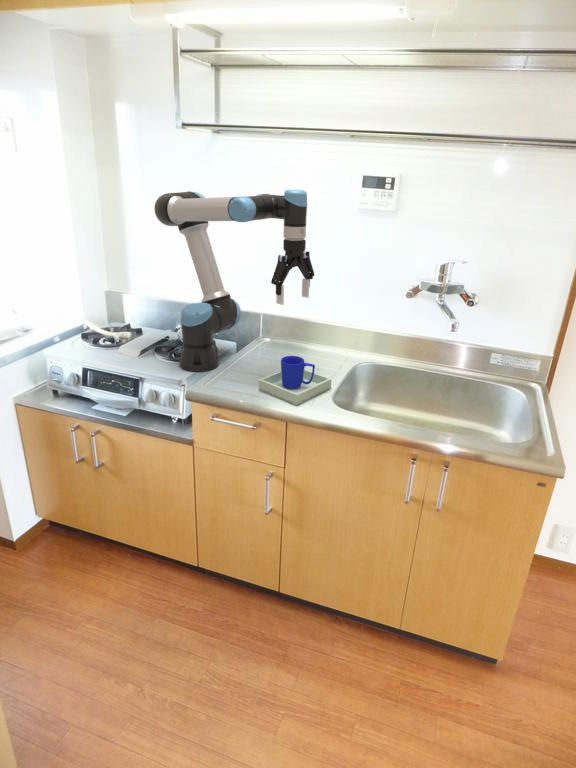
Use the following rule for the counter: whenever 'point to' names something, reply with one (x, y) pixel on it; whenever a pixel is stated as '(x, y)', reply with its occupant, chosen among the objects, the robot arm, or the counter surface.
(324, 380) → the tray
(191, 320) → the robot arm
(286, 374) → the mug
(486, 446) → the counter surface
